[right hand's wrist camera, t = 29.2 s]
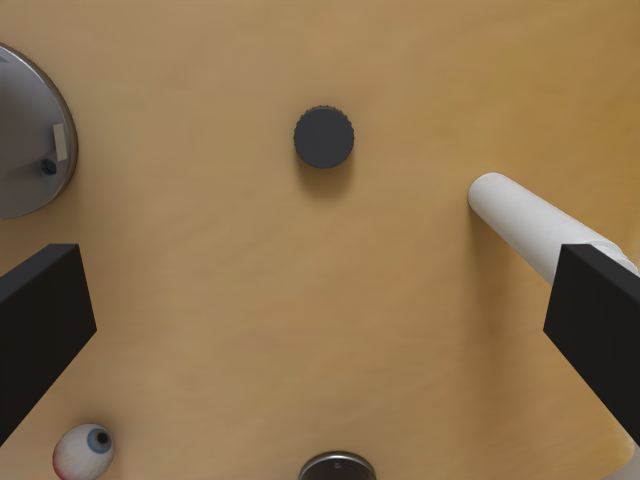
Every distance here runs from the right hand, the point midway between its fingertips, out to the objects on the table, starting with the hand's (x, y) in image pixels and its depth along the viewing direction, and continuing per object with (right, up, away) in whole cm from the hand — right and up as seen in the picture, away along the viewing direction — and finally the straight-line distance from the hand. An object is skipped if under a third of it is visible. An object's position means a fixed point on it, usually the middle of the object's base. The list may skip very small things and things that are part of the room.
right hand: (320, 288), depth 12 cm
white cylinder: (+16, +6, +29) cm, 33 cm away
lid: (0, +10, +25) cm, 27 cm away
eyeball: (-26, -21, +39) cm, 51 cm away
